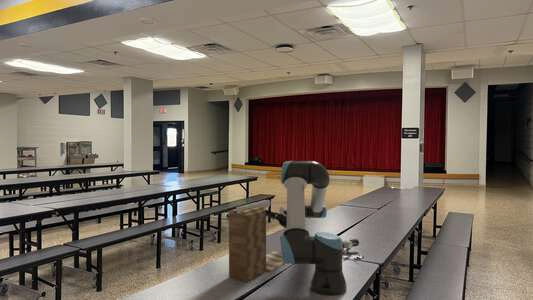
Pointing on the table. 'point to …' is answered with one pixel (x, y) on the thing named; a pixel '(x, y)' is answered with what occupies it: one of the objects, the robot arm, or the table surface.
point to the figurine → (349, 244)
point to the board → (273, 260)
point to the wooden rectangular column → (247, 244)
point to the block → (253, 206)
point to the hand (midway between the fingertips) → (269, 207)
